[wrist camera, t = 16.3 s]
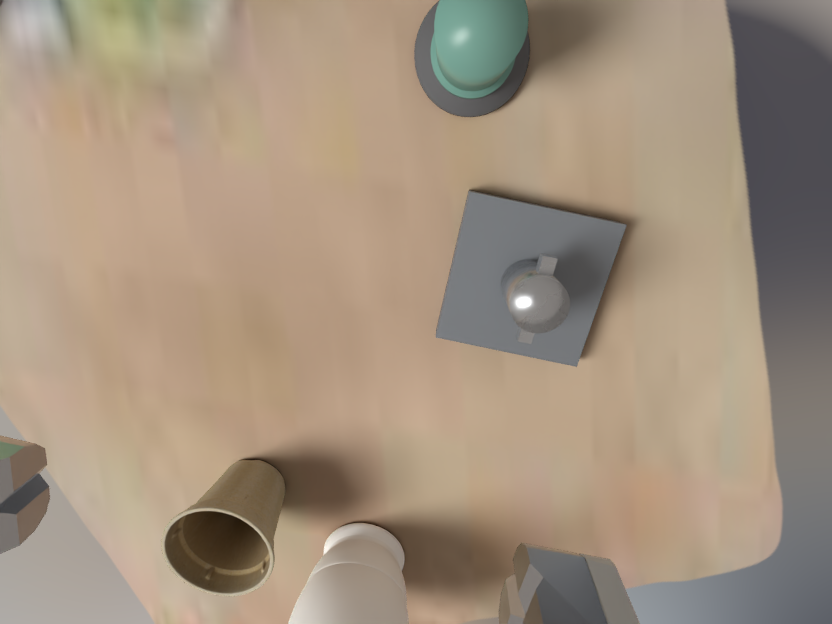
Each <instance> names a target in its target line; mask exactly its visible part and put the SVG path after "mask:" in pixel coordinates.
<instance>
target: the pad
mask: <svg viewBox="0 0 832 624" xmlns="http://www.w3.org/2000/svg"><path fill="white" fill-rule="evenodd" d="M438 4H439V1H438V2H437V3H436V4H435V5H434V6H433V7H432V8H431V10H430V11H429V12H428V14H427V15H426V17H425V18H424V20H423V22H422V24H421V26H420V29H419V31H418V34H417V38H416V43H415V67H416V72H417V76H418V78H419V81H420V84H421V86H422V88H423V90H424V91H425V93H426V94H427V96H428V97H429V98H430V99H431V100H432V102H433V103H435V104H436V105H437V106H438V107H439V108H441V109H443V110H444V111H446V112H448V113H450V114H453V115H457V116H462V117H476V116H481V115H485V114H488V113H490V112H492V111H494V110H496V109H497V108H499V107H501V106H502V105H503V104H504V103H506V102H507V101H508V100H509V99H510V98H511V97H512V96H513V94H514V93H515V92H516V91H517V89H518V87H519V86H520V84H521V82H522V80H523V78H524V76H525V73H526V70H527V67H528V62H529V53H530V44H529V36H528V31H527V34H526V38H525V41H524V43H523V46H522V48H521V49H520V51H519V53H518V54H517V56H516V58H515V62H514V65H513V68H512V70H511V72H510V74H509V76H508V77H507V79H506V80H505V81H504V83H503V84H502V85H501V86H500V87H499V88H498V89H497V90H495V91H494V92H493V93H491V94H489V95H487V96H485V97H482V98H479V99H463V98H459V97H457V96H454V95H452V94H451V93H449V92H448V91H447V90H446V89H444V88H443V86H442V85H441V84H440V83H439V81H438V80H437V78H436V76H435V73H434V71H433V67H432V63H431V42H432V38H433V34H434V32H435V31H434V21H435V14H436V10H437V6H438Z"/></svg>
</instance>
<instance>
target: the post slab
mask: <svg viewBox="0 0 832 624" xmlns="http://www.w3.org/2000/svg"><path fill="white" fill-rule="evenodd" d="M625 228H626V224H623V223H621V222H617V221H612V220H608V219H603V218H598V217H594V216H589V215H584V214H579V213H575V212H570V211H565V210H561V209H556V208H551V207H547V206H542V205H537V204H533V203H528V202H523V201H518V200H514V199H509V198H504V197H500V196H495V195H490V194H486V193H481V192H476V191H472V190H469V192H468V196H467V200H466V204H465V209H464V213H463V217H462V222H461V226H460V230H459V234H458V239H457V243H456V247H455V252H454V256H453V260H452V265H451V269H450V273H449V277H448V282H447V286H446V290H445V295H444V299H443V303H442V308H441V312H440V316H439V320H438V325H437V329H436V337H437V338H442V339H446V340H451V341H456V342H461V343H465V344H470V345H475V346H480V347H485V348H489V349H494V350H499V351H504V352H509V353H513V354H518V355H523V356H528V357H533V358H537V359H542V360H547V361H552V362H557V363H561V364H566V365H571V366H576V367H577V364H578V361H579V359H580V356H581V353H582V350H583V347H584V344H585V342H586V339H587V336H588V333H589V330H590V327H591V325H592V322H593V319H594V316H595V313H596V310H597V308H598V305H599V302H600V299H601V296H602V293H603V291H604V288H605V285H606V282H607V279H608V276H609V274H610V271H611V268H612V265H613V262H614V259H615V257H616V254H617V251H618V248H619V245H620V242H621V240H622V237H623V234H624V231H625ZM540 253H544V254H549V255H553V256H555V257H556V258H557V259H558V260H557V263H556V266H555V270H554V273H553V275H554V276H555V277H556V279H557V280H558V281H559V282H560V283H561V284H562V285H563V286H564V288H565V289H566V290H567V292H568V295H569V298H570V309H569V313H568V315H567V317H566V319H565V320H564V321H563V323H562V324H561V325H559V326H558V327H557V328H555V329H554V330H551V331H549V332H546V333H535V334H534V337H533V340H532V344H528V343H523V342H518V341H517V338H516V333H517V330H518V327H519V326H518V325H517V324H516V323H515V322H514V320H513V318H512V316H511V313H510V311H509V309H508V306H507V304H506V301H505V299H504V296H503V294H502V291H501V279H502V276H503V274H504V272H505V271H506V269H507V268H508V267H509V266H510V265H512V264H513V263H515V262H517V261H520V260H524V259H532V260H536V261H538V259H539V256H540Z"/></svg>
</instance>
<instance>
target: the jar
mask: <svg viewBox="0 0 832 624" xmlns="http://www.w3.org/2000/svg"><path fill="white" fill-rule="evenodd" d="M404 561H405V557H404V551H403V548H402V546H401V544H400V543H399V541H398V540H397V539H396V538H395V537H394V536H393V535H392V534H391V533H389V532H388V531H387V530H385V529H383V528H381V527H378V526H375V525H372V524H367V523H353V524H348V525H345V526H342V527H340V528H338V529H336V530H335V531H334V532H333V533H332V534H331V535H330V536H329V537H328V539H327V540H326V543H325V546H324V555H323V556H322V558H321V559H320V560H319V561H318V563H317V564H316V566H315V567H314V569H313V571H312V573H311V575H310V577H309V579H308V581H307V583H306V585H305V587H304V589H303V590H302V592H301V594H300V596H299V598H298V600H297V602H296V604H295V607H294V609H293V612H292V614H291V617H290V620H289V623H288V624H409V620H408V611H407V597H406V587H405V582H404V578H403V574H402V569H403V566H404Z"/></svg>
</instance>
